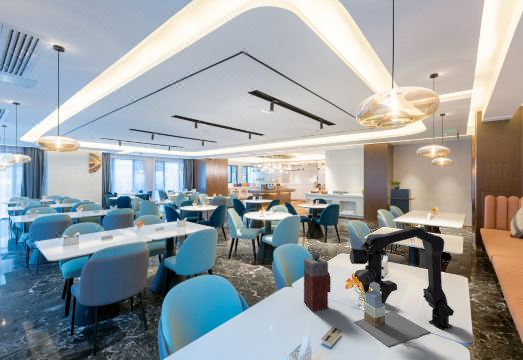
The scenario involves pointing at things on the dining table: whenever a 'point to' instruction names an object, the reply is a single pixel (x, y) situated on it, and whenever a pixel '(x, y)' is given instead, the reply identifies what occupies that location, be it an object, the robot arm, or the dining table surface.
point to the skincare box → (375, 286)
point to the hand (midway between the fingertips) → (374, 299)
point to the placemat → (393, 329)
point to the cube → (374, 299)
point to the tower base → (374, 320)
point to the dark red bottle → (316, 282)
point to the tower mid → (374, 310)
